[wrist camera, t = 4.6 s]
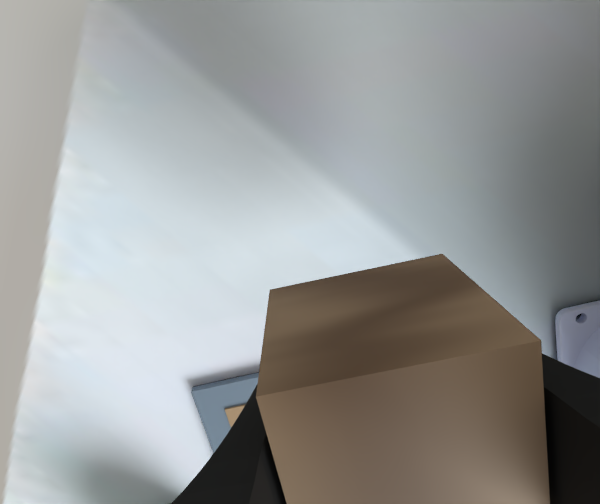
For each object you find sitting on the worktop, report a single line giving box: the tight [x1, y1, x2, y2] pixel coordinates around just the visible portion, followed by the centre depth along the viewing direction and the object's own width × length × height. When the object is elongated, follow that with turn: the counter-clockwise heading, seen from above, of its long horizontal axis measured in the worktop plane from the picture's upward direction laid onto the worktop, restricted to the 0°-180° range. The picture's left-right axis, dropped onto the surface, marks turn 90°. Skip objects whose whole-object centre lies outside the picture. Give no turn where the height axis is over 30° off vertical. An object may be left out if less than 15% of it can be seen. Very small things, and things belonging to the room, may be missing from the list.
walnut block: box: [256, 254, 550, 504], centre depth 11 cm, size 5×5×5 cm
